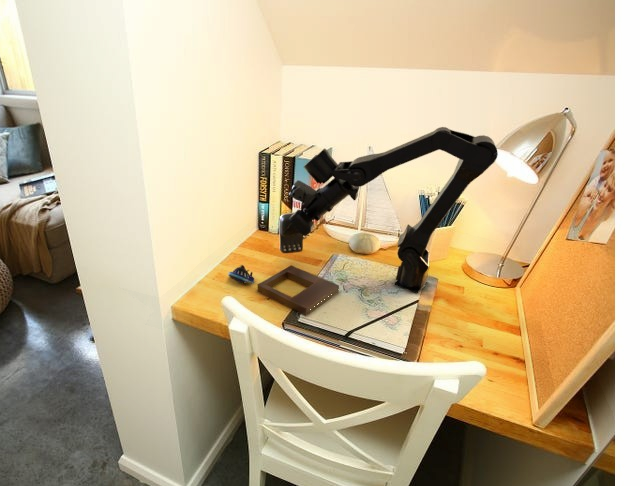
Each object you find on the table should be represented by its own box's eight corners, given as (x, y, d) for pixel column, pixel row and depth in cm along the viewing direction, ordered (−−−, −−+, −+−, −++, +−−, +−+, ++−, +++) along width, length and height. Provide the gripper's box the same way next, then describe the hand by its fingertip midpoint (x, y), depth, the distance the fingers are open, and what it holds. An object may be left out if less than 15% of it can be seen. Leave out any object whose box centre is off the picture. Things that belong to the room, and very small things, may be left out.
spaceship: (256, 273, 113) (255, 260, 109) (253, 289, 108) (252, 276, 105) (231, 272, 114) (229, 259, 111) (227, 287, 110) (224, 274, 106)
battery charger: (281, 255, 114) (281, 218, 108) (278, 249, 117) (278, 213, 111) (305, 253, 114) (306, 216, 108) (301, 247, 117) (303, 211, 111)
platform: (338, 292, 104) (339, 285, 103) (305, 316, 96) (306, 308, 95) (290, 271, 114) (291, 265, 113) (257, 291, 106) (257, 284, 105)
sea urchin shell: (378, 253, 117) (361, 232, 117) (357, 265, 123) (341, 245, 123) (386, 241, 124) (371, 221, 124) (366, 253, 130) (351, 234, 129)
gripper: (317, 163, 109) (279, 197, 119) (298, 183, 95) (256, 221, 104) (344, 193, 110) (303, 225, 120) (329, 218, 96) (284, 252, 106)
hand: (287, 230), depth 113 cm, fingers closed on battery charger, 6 cm apart
